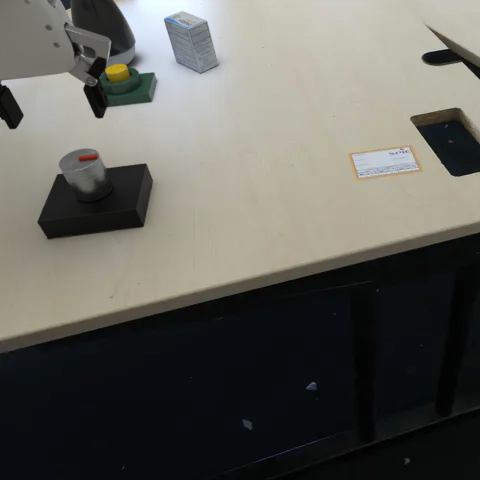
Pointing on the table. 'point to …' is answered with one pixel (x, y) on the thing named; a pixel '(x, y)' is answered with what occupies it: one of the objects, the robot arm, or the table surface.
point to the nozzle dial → (86, 174)
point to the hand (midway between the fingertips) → (60, 117)
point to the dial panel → (98, 205)
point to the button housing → (130, 88)
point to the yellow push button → (117, 72)
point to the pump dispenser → (105, 28)
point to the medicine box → (191, 41)
